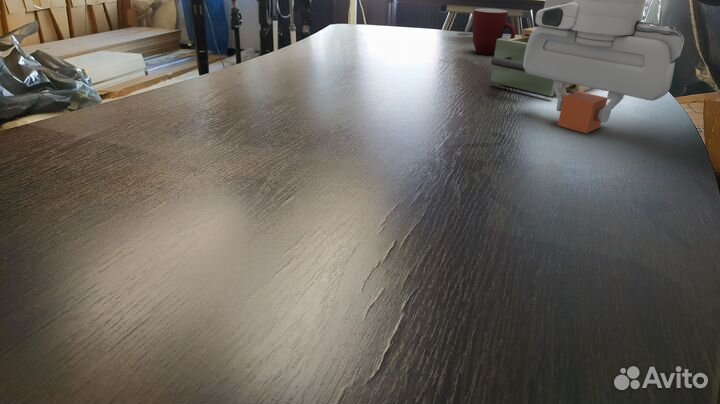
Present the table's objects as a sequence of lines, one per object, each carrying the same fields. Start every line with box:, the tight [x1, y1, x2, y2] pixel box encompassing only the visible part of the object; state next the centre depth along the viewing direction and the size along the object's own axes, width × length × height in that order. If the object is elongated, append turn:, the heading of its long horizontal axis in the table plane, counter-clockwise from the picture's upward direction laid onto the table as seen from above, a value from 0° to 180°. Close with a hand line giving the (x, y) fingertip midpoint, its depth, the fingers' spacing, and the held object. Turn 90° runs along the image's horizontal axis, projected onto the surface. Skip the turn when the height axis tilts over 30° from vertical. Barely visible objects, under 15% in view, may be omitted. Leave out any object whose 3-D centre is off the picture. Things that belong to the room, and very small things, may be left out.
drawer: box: [490, 36, 576, 97], centre depth 91 cm, size 19×12×8 cm, turn 132°
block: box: [557, 91, 608, 134], centre depth 74 cm, size 4×4×4 cm
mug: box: [471, 8, 516, 56], centre depth 121 cm, size 10×8×10 cm
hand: (581, 115), depth 74 cm, fingers closed on block, 4 cm apart
